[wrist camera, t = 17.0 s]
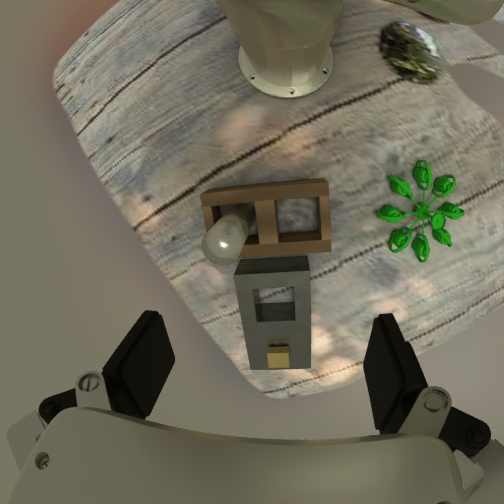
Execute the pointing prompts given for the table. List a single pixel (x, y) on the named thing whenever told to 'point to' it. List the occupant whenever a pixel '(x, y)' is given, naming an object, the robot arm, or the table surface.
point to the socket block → (275, 310)
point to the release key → (278, 357)
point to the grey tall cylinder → (228, 235)
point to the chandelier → (421, 211)
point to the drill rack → (274, 216)
